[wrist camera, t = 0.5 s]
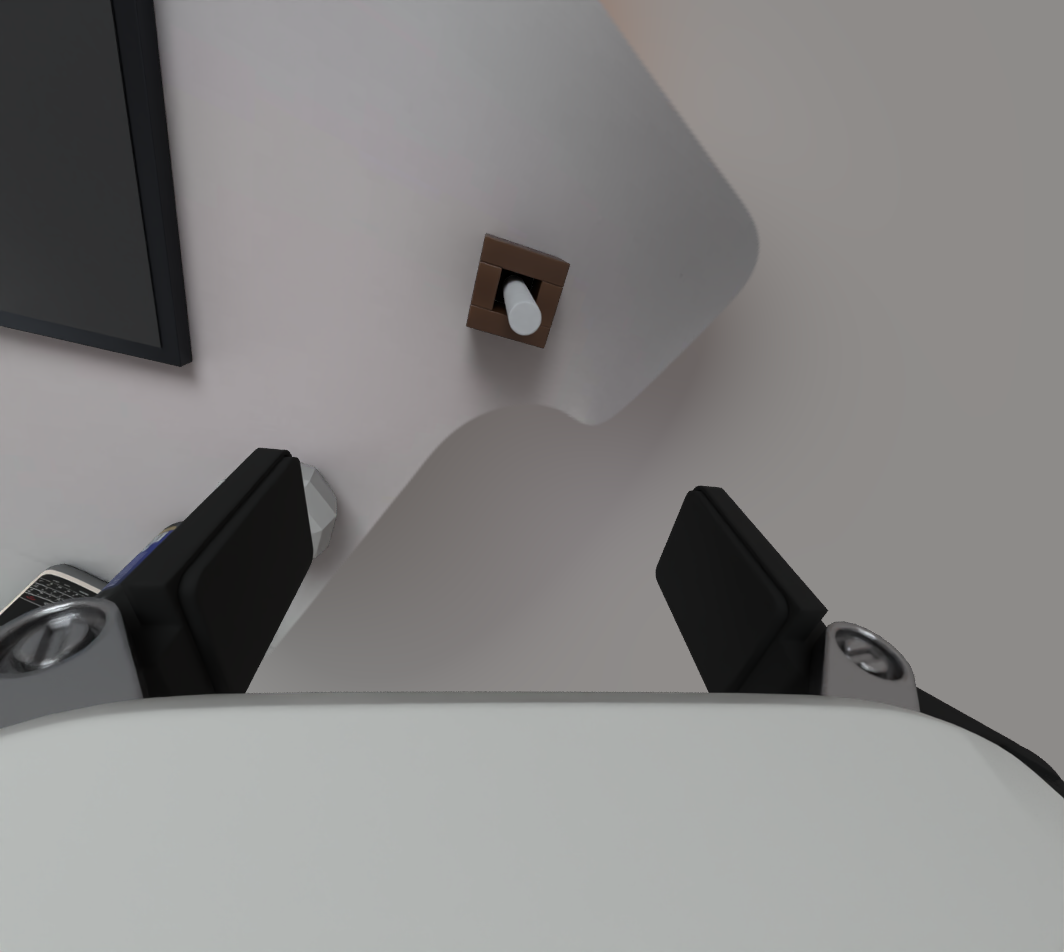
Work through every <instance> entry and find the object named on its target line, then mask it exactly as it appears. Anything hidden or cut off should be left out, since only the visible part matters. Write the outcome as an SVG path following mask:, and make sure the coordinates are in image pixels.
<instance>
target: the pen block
mask: <svg viewBox="0 0 1064 952" xmlns="http://www.w3.org/2000/svg"><path fill="white" fill-rule="evenodd" d="M569 267H570V264H569V263H567V262H565V261H564V260H562V259H560V258H558V257H555V256H552V255H549V254H546V253H543V252H540V251H537V250H534V249H532V248H529V247H526V246H523V245H520V244H517V243H514V242H511V241H508V240H505V239H502V238H499V237H496V236H493V235H490V234H488V233H486V234H485V239H484V243H483V248H482V253H481V258H480V262H479V267H478V272H477V276H476V281H475V286H474V290H473V295H472V300H471V305H470V309H469V314H468V319H467V324H466V326H467V327H470V328H473V329H477V330H480V331H484V332H487V333H491V334H494V335H498V336H501V337H505V338H508V339H512V340H515V341H519V342H522V343H526V344H529V345H533V346H536V347H540V348H544V347H545V344H546V341H547V337H548V334H549V331H550V327H551V325H552V321H553V318H554V315H555V312H556V309H557V305H558V302H559V299H560V296H561V293H562V289H563V288H562V287H563V286H564V283H565V279H566V276H567V273H568V270H569ZM502 268H504V269H507V270H510V271H513V272H516V273H519V274H522V275H525V276H528V277H531V278H534V279H533V282H532V286H531V290H530V294H531V295H532V297H533V299H534V301H535V303H536V304H537V306H538V308H539V310H540V312H541V324H540V326H539V328H538V329H537V330H536V331H535V332H534V333H532V334H530V335H519V334H517V333H516V332H514V331H513V330H512V328H511V327H510V324H509V320H508V315H507V310H506V305H505V303H503V302H499V301H496V300H495V297H496V292H497V288H498V284H499V280H500V276H501V271H502Z"/></svg>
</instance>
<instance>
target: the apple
mask: <svg viewBox="0 0 1064 952" xmlns="http://www.w3.org/2000/svg"><path fill="white" fill-rule="evenodd" d="M300 465H301V471H302V478H303V484H304V491H305V497H306V504H307V510H308V517H309V523H310V530H311V536H312V542H313V550H314V552H313V559H315V558H316V557H317V556H318V555H320V554H321V553H322V552H323V551H324V550H325V549H326V548H328V546H329V542H330V539H331V535H332V531H333V528H334V524H335V520H336V516H337V502H336V497H335V495H334V493H333V491H332V489H331V488H330V486H329V485H328V484H327V482H326V481H325V480H324V478H323V477H322V476H321V474H320V473H319V472H318V470H317V469H316V468H315V467H313V466H310V465H307V464H304V463H300ZM225 480H226V479H225ZM225 480H222V481H220V482H219V483H218V485H217V488H218V487H219V486H220V485H221V484H222V483H223V482H224V481H225ZM217 488H216V489H217Z"/></svg>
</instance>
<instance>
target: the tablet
mask: <svg viewBox="0 0 1064 952" xmlns="http://www.w3.org/2000/svg"><path fill="white" fill-rule="evenodd" d="M0 326H4V327H8V328H13V329H17V330H21V331H26V332H30V333H34V334H39V335H43V336H48V337H52V338H56V339H61V340H65V341H70V342H74V343H78V344H83V345H87V346H91V347H96V348H100V349H105V350H109V351H113V352H118V353H122V354H127V355H131V356H135V357H140V358H144V359H149V360H153V361H157V362H162V363H166V364H170V365H175V366H179V367H182V366H184V365H186V364H188V363H190V362H192V354H191V345H190V336H189V327H188V318H187V309H186V300H185V291H184V281H183V272H182V263H181V254H180V245H179V236H178V227H177V218H176V209H175V200H174V190H173V181H172V172H171V163H170V154H169V145H168V136H167V127H166V118H165V108H164V99H163V90H162V81H161V72H160V63H159V54H158V45H157V36H156V27H155V17H154V8H153V0H0Z"/></svg>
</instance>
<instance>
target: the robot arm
mask: <svg viewBox="0 0 1064 952" xmlns="http://www.w3.org/2000/svg"><path fill="white" fill-rule="evenodd" d="M313 552H314V550H313V542H312V536H311V530H310V523H309V517H308V510H307V504H306V497H305V491H304V484H303V478H302V471H301V465H300V461H299V459H298V458H297V457H292V456H291V454H290V452H289V451H288V450H279V449H267V448H258V449H256V450H255V451H254V452H253V453H252V454H251V455H250V456H249V457H248V458H247V459H246V460H245V461H244V462H243V463H242V464H241V465H240V466H239V467H238V468H237V469H236V470H235V471H234V472H233V473H232V474H231V475H230V476H229V477H228V478H227V479H226V480H225V481H224V482H223V483H222V484H221V485H220V486H219V487H218V488H217V489H216V490H215V491H214V492H213V493H211V494H210V495H209V496H208V497H207V498H206V499H205V500H204V501H203V502H202V503H201V504H200V505H199V506H198V507H197V508H196V509H195V510H194V511H193V512H192V513H191V514H190V515H189V516H188V517H187V518H186V519H185V520H184V521H183V522H182V523H181V524H180V525H179V526H178V527H177V528H176V529H175V530H174V531H173V532H172V533H171V534H170V535H169V536H168V537H167V538H166V539H165V540H164V541H163V542H162V543H161V544H160V545H159V546H158V547H157V548H156V549H155V550H154V551H153V552H152V553H151V554H150V555H149V556H148V557H147V558H146V559H145V560H144V561H143V562H142V563H141V564H140V565H139V566H138V567H137V568H136V569H135V570H134V571H133V572H132V573H131V574H130V575H129V576H128V577H127V578H126V579H125V580H124V581H123V582H122V583H121V586H120V587H119V588H118V589H117V590H116V591H115V592H114V593H113V594H112V595H111V596H110V597H109V598H108V599H105V598H98V597H79V598H70V599H65V600H61V601H58V602H54V603H50V604H46V605H44V606H41V607H39V608H36V609H34V610H31V611H29V612H26V613H24V614H22V615H20V616H19V617H17V618H15V619H13V620H11V621H9V622H8V623H6V624H4V625H3V626H1V627H0V952H1064V781H1063V780H1061V778H1060V777H1059V776H1058V774H1057V773H1056V772H1055V771H1054V770H1053V769H1052V767H1050V765H1048V764H1047V763H1046V762H1045V761H1044V760H1043V759H1041V758H1040V757H1039V756H1037V755H1036V754H1034V753H1033V752H1031V751H1030V750H1028V749H1026V748H1024V747H1022V746H1020V745H1019V744H1017V743H1015V742H1014V741H1012V740H1010V739H1008V738H1007V737H1005V736H1003V735H1001V734H1000V733H998V732H996V731H994V730H992V729H990V728H989V727H987V726H985V725H983V724H982V723H980V722H978V721H976V720H975V719H973V718H971V717H969V716H967V715H966V714H963V713H962V712H960V711H958V710H957V709H955V708H953V707H951V706H949V705H948V704H946V703H944V702H942V701H941V700H939V699H937V698H935V697H933V696H932V695H930V694H928V693H926V692H924V691H923V690H921V689H919V688H917V687H916V684H915V678H914V674H913V671H912V669H911V666H910V665H909V663H908V662H907V661H906V659H905V658H904V657H903V655H902V654H901V653H900V652H899V651H898V650H897V649H896V648H894V646H892V645H891V644H890V643H889V642H887V641H886V640H884V639H883V638H882V637H880V636H879V635H877V634H875V633H874V632H872V631H870V630H868V629H866V628H864V627H861V626H859V625H856V624H853V623H848V622H834V623H832V624H830V625H828V627H826V626H825V625H824V623H823V622H822V621H821V619H822V618H823V617H824V615H825V614H826V613H827V611H828V610H827V609H826V607H825V606H824V605H823V604H822V603H821V602H820V601H819V599H818V598H817V597H816V596H815V595H814V594H813V593H812V591H811V590H810V589H809V588H808V587H807V586H806V585H805V583H804V582H803V581H802V580H801V579H800V577H799V576H798V575H797V574H796V573H795V572H794V571H793V569H792V568H791V567H790V566H789V565H788V564H787V562H786V561H785V560H784V559H783V558H782V557H781V556H780V554H779V553H778V552H777V551H776V550H775V549H774V547H773V546H772V545H771V544H770V543H769V542H768V541H767V539H766V538H765V537H764V536H763V535H762V534H761V532H760V531H759V530H758V529H757V528H756V527H755V525H754V524H753V523H752V522H751V521H750V520H749V519H748V518H747V516H746V515H745V514H744V513H743V512H742V510H741V509H740V508H739V507H738V506H737V505H736V504H735V502H734V501H733V500H732V499H731V498H730V497H729V496H728V494H727V493H726V492H725V491H724V490H723V489H722V488H719V487H709V486H697V487H696V488H694V490H693V491H689V492H688V493H687V495H686V497H685V499H684V502H683V504H682V507H681V509H680V512H679V514H678V516H677V519H676V521H675V524H674V526H673V528H672V531H671V533H670V536H669V538H668V541H667V543H666V546H665V548H664V550H663V553H662V555H661V557H660V560H659V563H658V565H657V567H656V579H657V582H658V584H659V586H660V589H661V590H662V592H663V595H664V597H665V599H666V601H667V603H668V606H669V608H670V610H671V612H672V614H673V616H674V619H675V621H676V623H677V625H678V627H679V629H680V632H681V634H682V636H683V638H684V640H685V642H686V645H687V646H688V649H689V651H690V653H691V655H692V657H693V660H694V662H695V664H696V666H697V668H698V670H699V672H700V675H701V677H702V679H703V681H704V683H705V685H706V687H707V690H708V692H709V693H679V692H678V693H677V692H674V693H673V692H672V693H671V692H670V693H669V692H297V693H245V692H246V691H247V689H248V687H249V685H250V683H251V681H252V679H253V677H254V675H255V673H256V671H257V669H258V667H259V665H260V663H261V661H262V659H263V657H264V655H265V653H266V651H267V649H268V648H269V646H270V644H271V642H272V640H273V638H274V636H275V634H276V632H277V630H278V628H279V626H280V624H281V622H282V620H283V618H284V616H285V614H286V612H287V610H288V608H289V606H290V605H291V603H292V601H293V599H294V597H295V595H296V593H297V591H298V589H299V587H300V585H301V583H302V581H303V579H304V577H305V575H306V573H307V571H308V569H309V567H310V565H311V563H312V560H313Z"/></svg>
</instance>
